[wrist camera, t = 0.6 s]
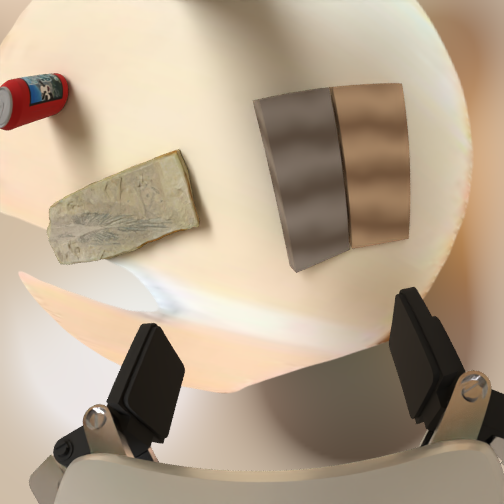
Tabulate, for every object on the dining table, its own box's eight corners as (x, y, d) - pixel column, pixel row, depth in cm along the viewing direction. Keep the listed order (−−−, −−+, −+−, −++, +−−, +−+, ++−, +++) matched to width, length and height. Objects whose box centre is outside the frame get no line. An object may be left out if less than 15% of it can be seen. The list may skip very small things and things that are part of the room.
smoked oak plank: (252, 100, 27) (258, 99, 25) (319, 88, 28) (328, 87, 27) (289, 265, 38) (296, 272, 37) (341, 243, 40) (349, 249, 38)
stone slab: (31, 217, 37) (167, 148, 30) (45, 207, 40) (179, 141, 33) (64, 274, 43) (204, 237, 36) (75, 261, 47) (211, 222, 40)
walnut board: (329, 87, 28) (332, 87, 27) (395, 83, 27) (401, 83, 25) (349, 241, 40) (352, 248, 38) (403, 231, 38) (408, 238, 37)
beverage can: (78, 80, 28) (19, 89, 18) (62, 121, 31) (6, 142, 21) (51, 67, 26) (-6, 75, 16) (36, 106, 29) (-18, 123, 19)
